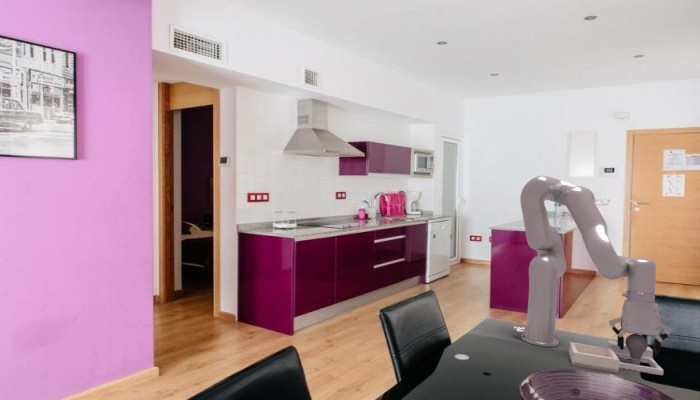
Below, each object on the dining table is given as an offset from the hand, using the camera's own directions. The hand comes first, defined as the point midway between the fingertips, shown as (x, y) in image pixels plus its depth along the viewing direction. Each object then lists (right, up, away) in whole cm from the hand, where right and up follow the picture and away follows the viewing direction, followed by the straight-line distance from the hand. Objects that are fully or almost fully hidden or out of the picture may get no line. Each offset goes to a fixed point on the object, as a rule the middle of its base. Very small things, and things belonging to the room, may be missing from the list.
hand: (638, 350), depth 147 cm
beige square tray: (-15, -4, -1) cm, 16 cm away
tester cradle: (0, -5, +3) cm, 6 cm away
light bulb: (-1, -5, 0) cm, 5 cm away
